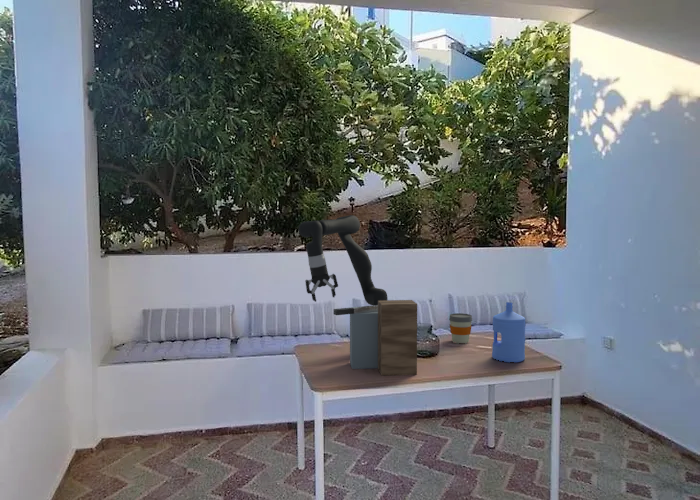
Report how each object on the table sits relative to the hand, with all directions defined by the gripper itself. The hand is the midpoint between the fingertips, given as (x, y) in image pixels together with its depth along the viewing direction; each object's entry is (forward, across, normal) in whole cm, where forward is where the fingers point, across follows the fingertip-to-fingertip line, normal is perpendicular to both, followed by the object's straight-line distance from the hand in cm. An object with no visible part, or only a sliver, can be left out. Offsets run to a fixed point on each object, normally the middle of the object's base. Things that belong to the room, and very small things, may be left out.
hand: (324, 299), depth 238 cm
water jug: (+51, +84, 0) cm, 98 cm away
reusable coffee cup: (+52, +74, +37) cm, 98 cm away
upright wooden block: (+39, +25, -9) cm, 47 cm away
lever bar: (+11, +15, +3) cm, 18 cm away
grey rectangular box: (+38, +16, +3) cm, 41 cm away
